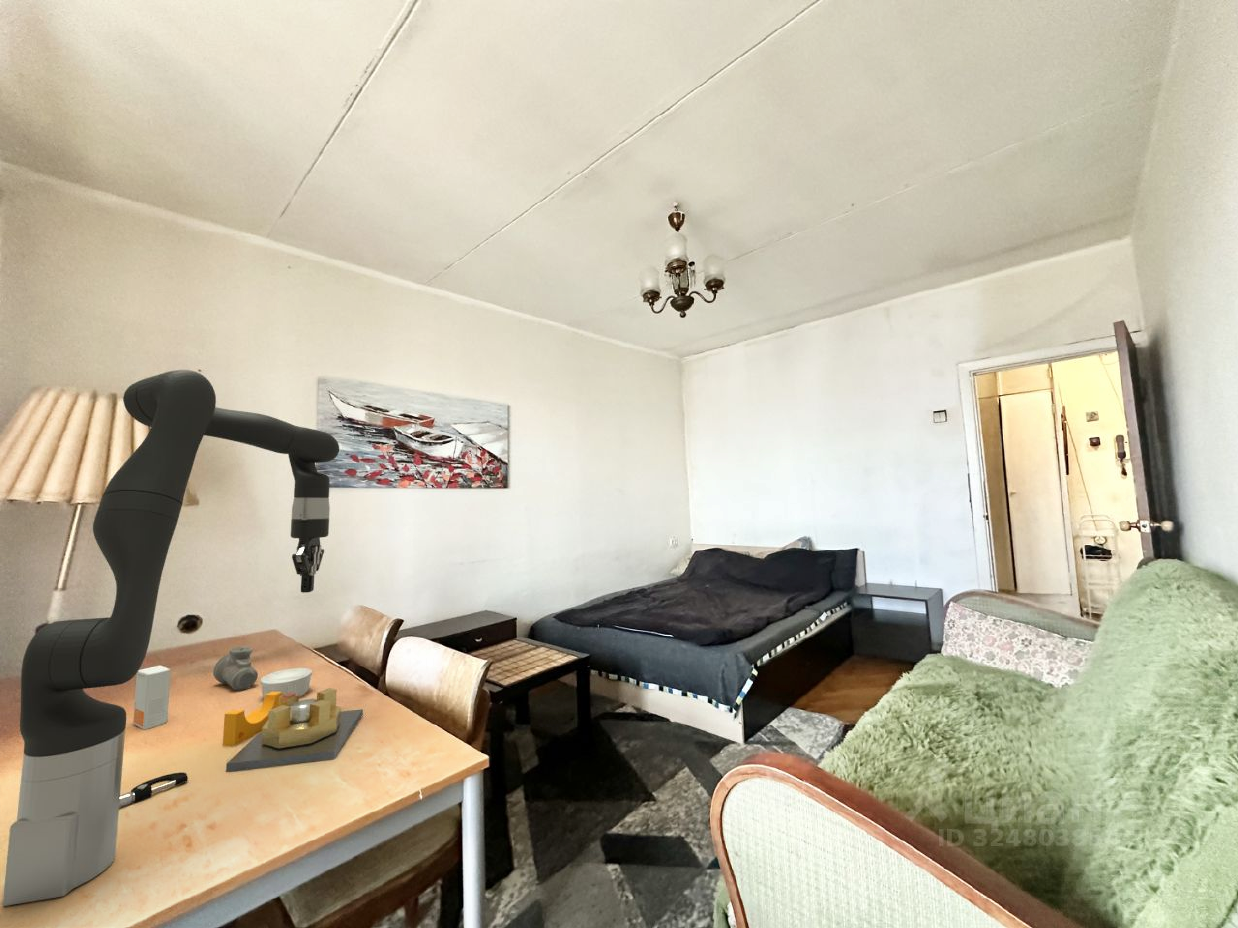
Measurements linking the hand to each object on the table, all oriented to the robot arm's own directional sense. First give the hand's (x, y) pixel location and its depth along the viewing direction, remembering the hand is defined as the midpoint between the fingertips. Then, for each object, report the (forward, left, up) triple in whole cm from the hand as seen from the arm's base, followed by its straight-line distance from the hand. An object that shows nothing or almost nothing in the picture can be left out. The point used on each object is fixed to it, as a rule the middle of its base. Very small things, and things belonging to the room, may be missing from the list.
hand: (307, 591), depth 112 cm
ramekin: (+19, +10, -29) cm, 36 cm away
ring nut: (-10, -4, -27) cm, 29 cm away
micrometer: (-25, +17, -30) cm, 42 cm away
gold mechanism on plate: (-10, -4, -29) cm, 31 cm away
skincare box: (+8, +33, -29) cm, 45 cm away
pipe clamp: (-3, +9, -30) cm, 31 cm away
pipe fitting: (+30, +26, -29) cm, 50 cm away
